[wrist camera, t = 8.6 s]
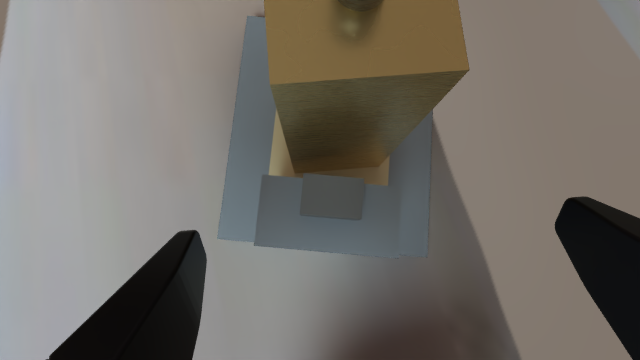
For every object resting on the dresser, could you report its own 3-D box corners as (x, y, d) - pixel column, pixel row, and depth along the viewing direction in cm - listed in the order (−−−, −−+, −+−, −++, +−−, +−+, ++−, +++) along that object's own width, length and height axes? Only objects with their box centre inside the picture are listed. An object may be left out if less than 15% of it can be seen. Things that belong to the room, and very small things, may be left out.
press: (419, 256, 21) (484, 267, 13) (223, 238, 21) (169, 239, 13) (427, 46, 24) (487, -54, 16) (251, 29, 24) (219, -79, 16)
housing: (379, 166, 21) (504, 32, 7) (294, 173, 20) (260, 49, 7) (369, 86, 21) (466, -168, 8) (288, 93, 21) (246, -157, 8)
